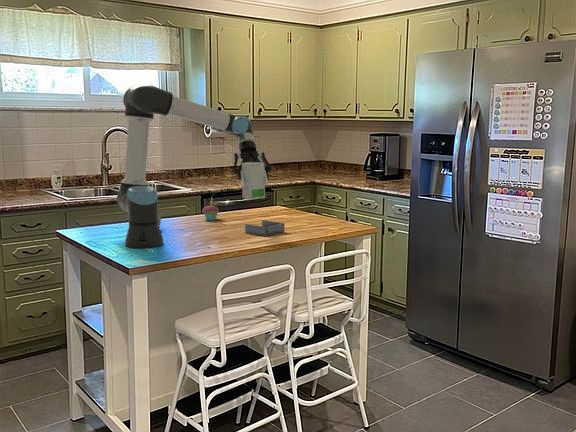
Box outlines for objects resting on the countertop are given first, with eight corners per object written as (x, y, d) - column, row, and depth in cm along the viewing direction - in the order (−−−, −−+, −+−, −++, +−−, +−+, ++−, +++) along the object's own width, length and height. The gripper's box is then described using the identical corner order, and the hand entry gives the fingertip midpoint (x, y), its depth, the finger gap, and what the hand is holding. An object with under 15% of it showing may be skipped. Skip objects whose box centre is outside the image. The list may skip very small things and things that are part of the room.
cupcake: (222, 220, 287) (221, 196, 285) (206, 221, 283) (206, 197, 280) (214, 217, 294) (213, 194, 292) (199, 219, 290) (198, 195, 287)
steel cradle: (266, 236, 250) (266, 227, 249) (245, 232, 257) (245, 224, 256) (284, 231, 259) (284, 223, 259) (263, 228, 267) (263, 220, 266)
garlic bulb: (154, 231, 259) (153, 210, 257) (138, 230, 261) (137, 209, 259) (165, 227, 267) (164, 206, 266) (149, 226, 270) (148, 205, 268)
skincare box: (250, 200, 245) (249, 163, 242) (241, 198, 250) (240, 162, 247) (265, 197, 250) (265, 162, 247) (256, 196, 255) (255, 161, 252)
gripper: (269, 149, 264) (278, 188, 252) (222, 151, 258) (228, 190, 246) (272, 138, 258) (281, 177, 246) (223, 140, 252) (230, 180, 240)
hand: (255, 184), depth 246 cm, fingers closed on skincare box, 10 cm apart
